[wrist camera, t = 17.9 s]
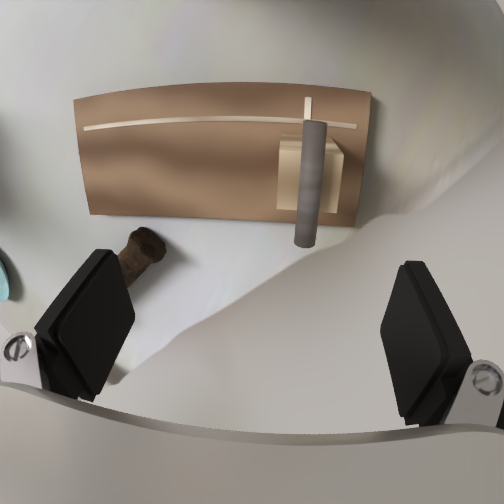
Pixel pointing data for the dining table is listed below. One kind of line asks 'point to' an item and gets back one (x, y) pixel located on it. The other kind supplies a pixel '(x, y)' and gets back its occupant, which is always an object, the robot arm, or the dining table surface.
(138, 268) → the hand tool
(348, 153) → the board
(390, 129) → the dining table surface
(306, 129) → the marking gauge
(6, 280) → the saucer
